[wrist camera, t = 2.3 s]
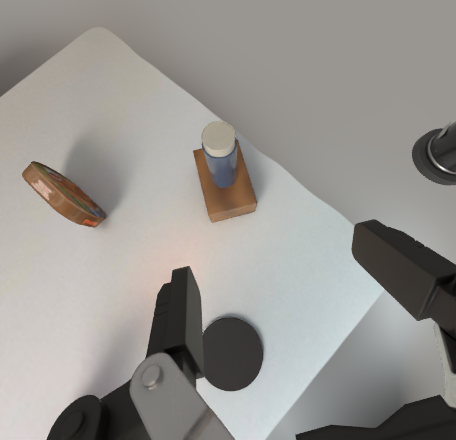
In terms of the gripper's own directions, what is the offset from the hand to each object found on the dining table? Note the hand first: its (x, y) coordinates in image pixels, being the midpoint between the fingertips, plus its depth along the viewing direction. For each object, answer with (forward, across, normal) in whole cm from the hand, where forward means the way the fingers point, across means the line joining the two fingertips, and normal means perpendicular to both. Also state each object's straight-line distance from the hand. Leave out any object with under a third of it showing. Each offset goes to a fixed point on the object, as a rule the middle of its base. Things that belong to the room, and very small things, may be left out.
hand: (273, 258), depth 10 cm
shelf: (+30, 0, +8) cm, 31 cm away
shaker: (+26, 0, +4) cm, 27 cm away
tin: (+33, +27, +5) cm, 43 cm away
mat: (+11, +6, +27) cm, 30 cm away
